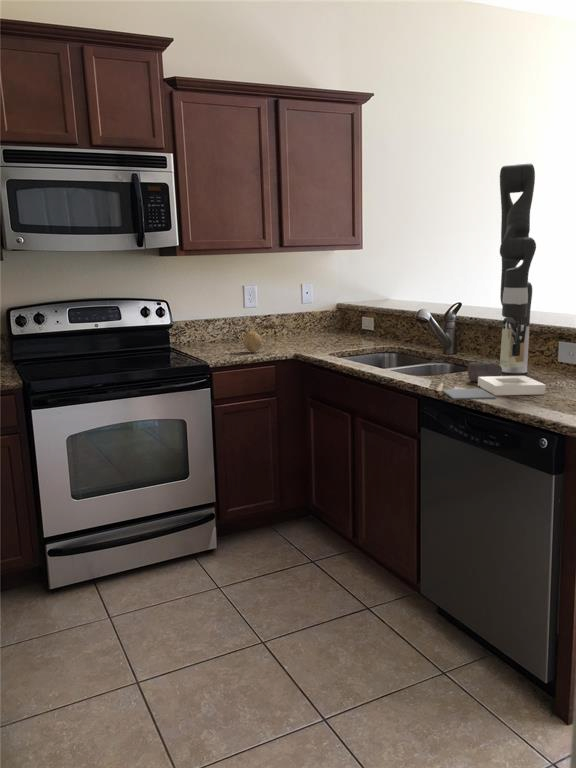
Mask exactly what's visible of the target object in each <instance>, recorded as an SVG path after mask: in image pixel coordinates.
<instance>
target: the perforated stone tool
mask: <svg viewBox="0 0 576 768" xmlns="http://www.w3.org/2000/svg"><path fill="white" fill-rule="evenodd" d="M502 373H503V372H502V367H501V366H500V364H498V363H496V362H491V361H479V362H477V361H475V362H474V361H473V362H468V363H467V375H468V380H469V381H470V382H475V383H478V377H488V376H502Z"/></svg>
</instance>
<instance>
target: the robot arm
mask: <svg viewBox="0 0 576 768" xmlns="http://www.w3.org/2000/svg"><path fill="white" fill-rule="evenodd" d="M535 171H536V170H535V165H534V164H532V163H530V162H525V163H513V164H505V165H503V166H502V167H501V168H500V172H499V191H500V206H501V207H500V208H501V223H500V224H501V225H500V246H499V255H500V257H501V278H500V295H499V297H500V303H501V305H502V306H501V307H502V308H501V315H502V316H501V317H503V320H502V321H501V323H502V325H501V327H502V328H501V330H502V329H510V330H514V332H515V333H516V334H514V333H513V332H512V337H513V350H512V355H513V356H520V344H522V343H524V340H525V345H524V359H523V367H513V368H507V367H503V366H501V367H502V373H508V374H525V373H527V371H528V362H529V361H528V359H529V357H528V356H529V341H530V327H531V326H530V322H531V307H532V306H531V305H532V299H533V285H532V283H531V282H530V281H529V272H530V269H531V266H532V265H531V264H532V262H533V260H534V259H533V258H534V255H535V254H536V249H537V243H536V241H535V239H534V238H532V237H530V230H531V226H530V225H531V222H530V221H531V209H532V202H533V197H534V190H535V180H536V172H535ZM515 193H518V194H519V193H521V194H520V196H519V197H518V199H517V200H516V201H515V202H513V201H512V198H511V194H515ZM521 261H522V263H521V264H520V262H521ZM519 264H520V265H519ZM515 337H516V339H515ZM521 337H522V339H521Z"/></svg>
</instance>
